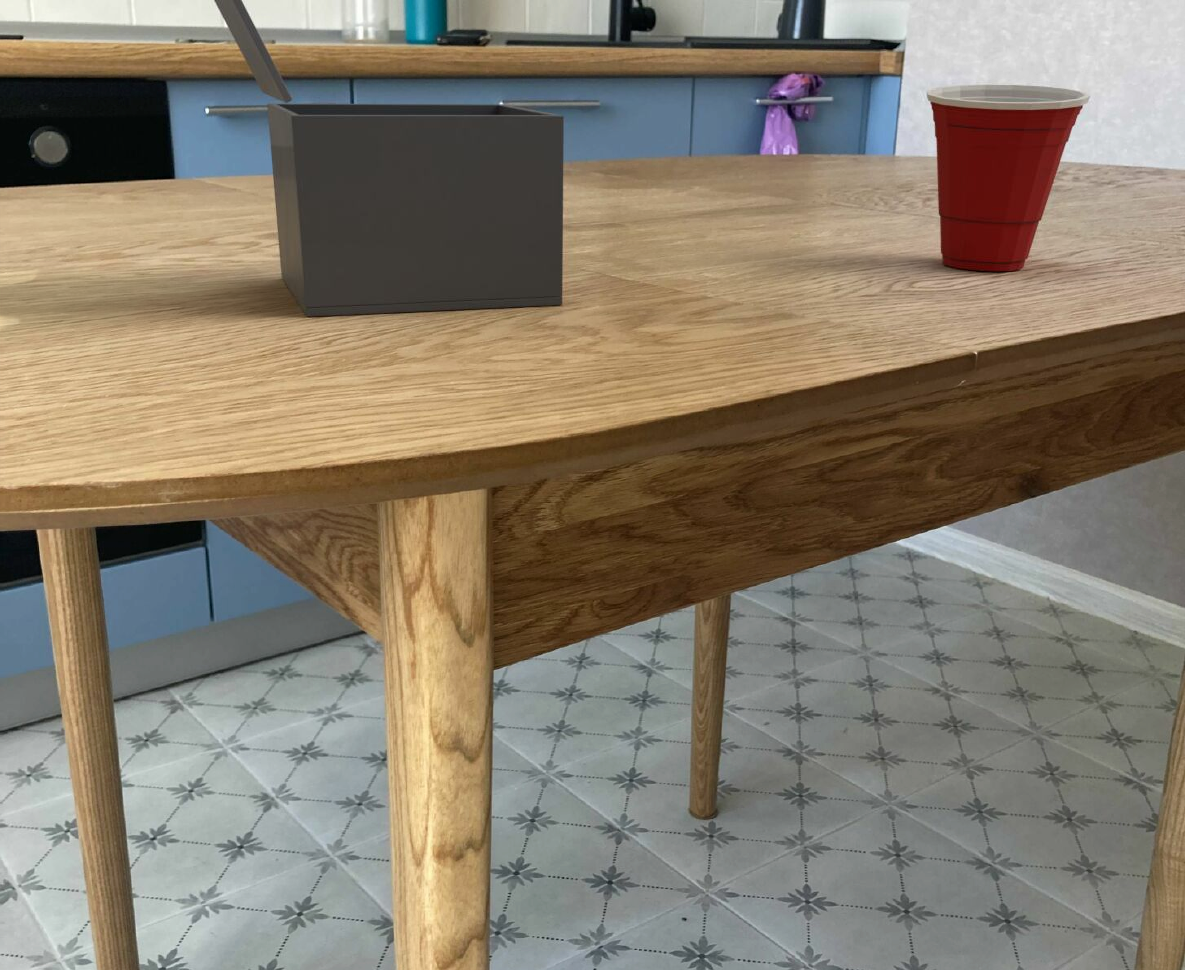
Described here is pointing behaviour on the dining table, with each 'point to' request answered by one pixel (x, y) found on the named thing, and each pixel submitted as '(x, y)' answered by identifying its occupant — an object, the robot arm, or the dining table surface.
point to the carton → (418, 206)
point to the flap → (253, 49)
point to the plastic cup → (997, 167)
